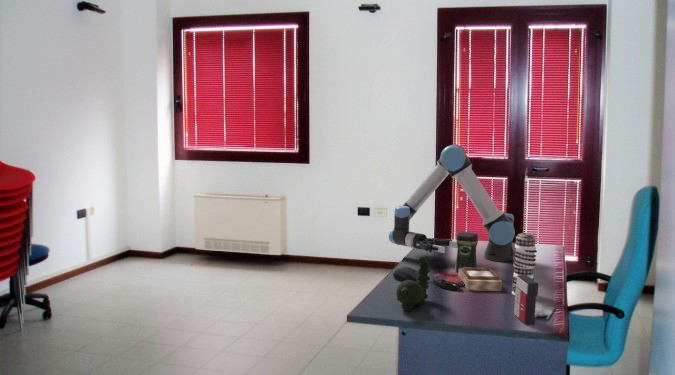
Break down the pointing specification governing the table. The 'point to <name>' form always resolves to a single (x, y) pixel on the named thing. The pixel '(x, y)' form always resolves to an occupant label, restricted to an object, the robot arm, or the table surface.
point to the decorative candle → (523, 257)
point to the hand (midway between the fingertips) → (453, 248)
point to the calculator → (525, 299)
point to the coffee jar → (466, 250)
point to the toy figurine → (414, 288)
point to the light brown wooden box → (480, 279)
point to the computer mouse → (412, 274)
